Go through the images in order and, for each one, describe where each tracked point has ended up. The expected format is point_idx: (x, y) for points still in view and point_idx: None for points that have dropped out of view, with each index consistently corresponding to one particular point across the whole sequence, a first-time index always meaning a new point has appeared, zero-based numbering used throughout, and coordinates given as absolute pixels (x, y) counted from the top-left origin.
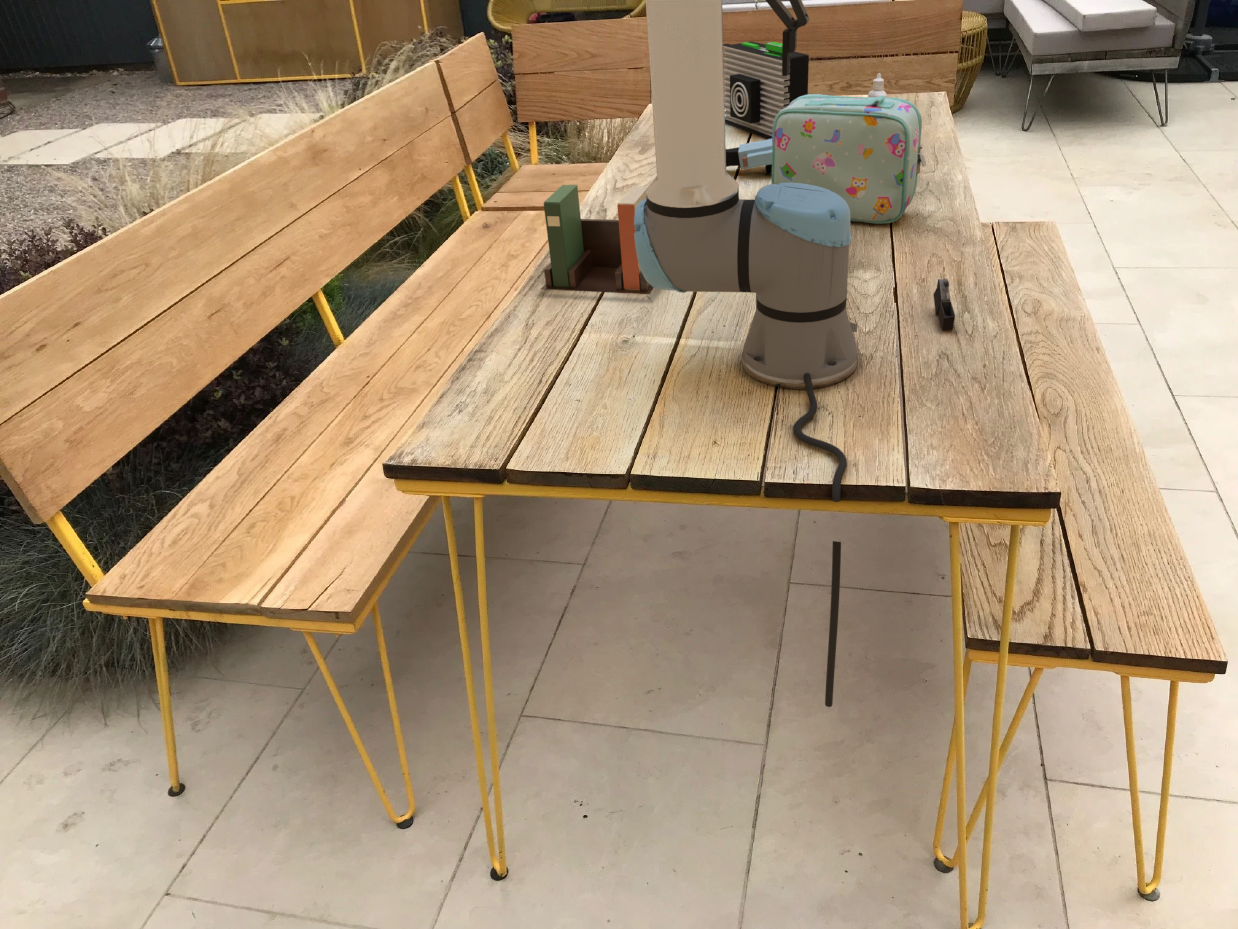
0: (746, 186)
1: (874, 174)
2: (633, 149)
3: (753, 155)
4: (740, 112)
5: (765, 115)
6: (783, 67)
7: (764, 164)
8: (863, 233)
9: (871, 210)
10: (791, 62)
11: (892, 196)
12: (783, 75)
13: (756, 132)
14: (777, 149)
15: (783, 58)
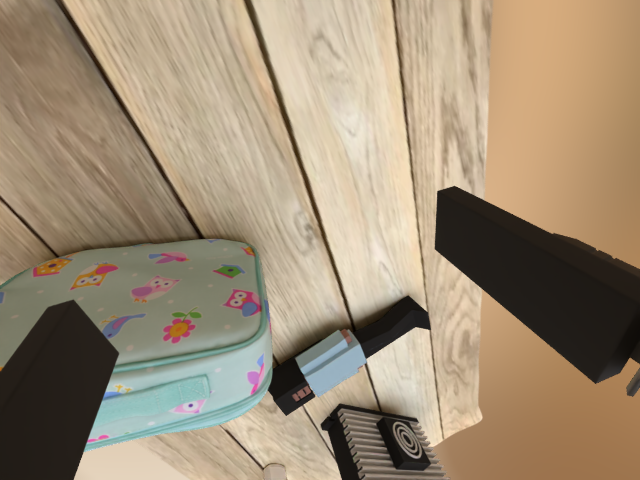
0: (327, 302)
1: (51, 297)
2: (476, 338)
3: (338, 343)
4: (399, 426)
5: (373, 431)
6: (44, 329)
7: (322, 341)
8: (76, 217)
9: (75, 257)
10: None
11: (24, 278)
12: (64, 302)
13: (375, 412)
14: (251, 289)
15: (18, 370)
